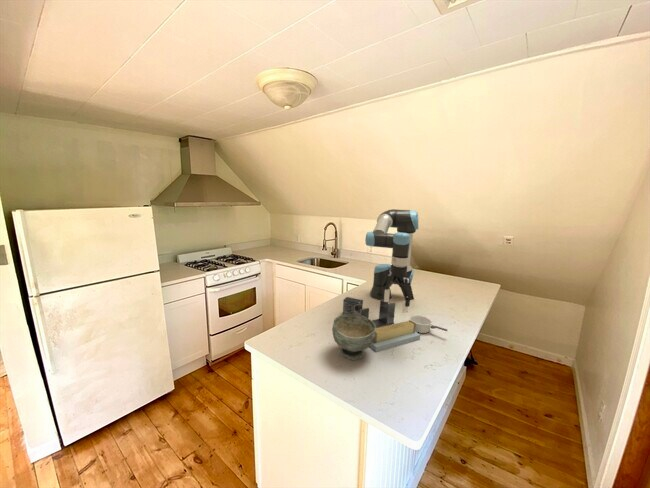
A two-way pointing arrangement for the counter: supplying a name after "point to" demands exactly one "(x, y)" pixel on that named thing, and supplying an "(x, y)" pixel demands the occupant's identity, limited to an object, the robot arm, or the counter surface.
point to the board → (395, 342)
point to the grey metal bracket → (384, 314)
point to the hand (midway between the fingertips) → (395, 306)
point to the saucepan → (423, 324)
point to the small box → (350, 305)
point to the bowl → (353, 334)
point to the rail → (394, 331)
